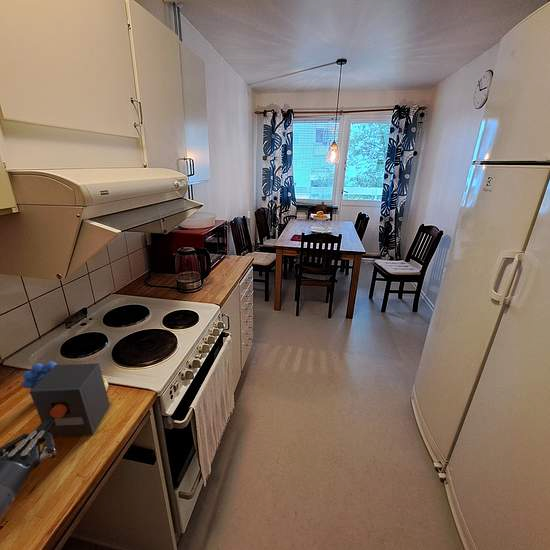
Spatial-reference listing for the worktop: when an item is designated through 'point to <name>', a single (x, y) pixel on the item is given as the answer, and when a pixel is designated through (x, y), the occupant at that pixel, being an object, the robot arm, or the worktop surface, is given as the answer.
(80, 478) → the worktop surface
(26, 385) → the grapes
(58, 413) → the power button
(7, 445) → the robot arm
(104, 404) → the push button control box
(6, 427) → the worktop surface
